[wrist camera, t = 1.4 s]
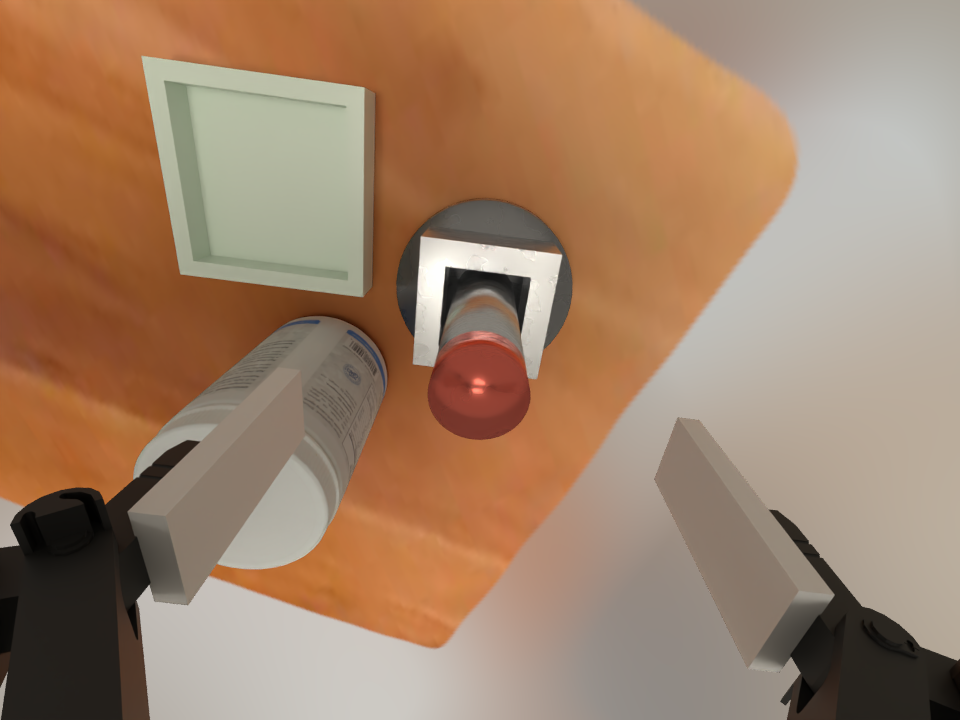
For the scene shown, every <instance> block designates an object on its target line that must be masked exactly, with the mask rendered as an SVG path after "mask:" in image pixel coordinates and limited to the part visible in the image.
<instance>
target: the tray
mask: <svg viewBox="0 0 960 720" xmlns="http://www.w3.org/2000/svg"><path fill="white" fill-rule="evenodd" d="M142 62H143V67H144V73H145V79H146V84H147V90H148V95H149V101H150V107H151V112H152V118H153V123H154V129H155V135H156V140H157V146H158V152H159V157H160V163H161V168H162V174H163V180H164V185H165V191H166V196H167V202H168V208H169V213H170V219H171V224H172V230H173V236H174V241H175V247H176V252H177V258H178V264H179V269H180V274H182V275H190V276H198V277H206V278H214V279H221V280H229V281H237V282H245V283H253V284H261V285H269V286H277V287H285V288H293V289H301V290H309V291H317V292H325V293H333V294H341V295H349V296H357V297H364V296H365V294H366V293H367V292H368V291H369V290H370V289H371V288H372V274H373V213H374V153H375V93H374V92H372V91H370V90H368V89H366V88H365V87H358V86H351V85H344V84H337V83H330V82H323V81H316V80H309V79H302V78H295V77H288V76H280V75H273V74H266V73H259V72H252V71H245V70H238V69H231V68H224V67H217V66H210V65H203V64H196V63H189V62H182V61H174V60H167V59H160V58H153V57H146V56H142Z"/></svg>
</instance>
